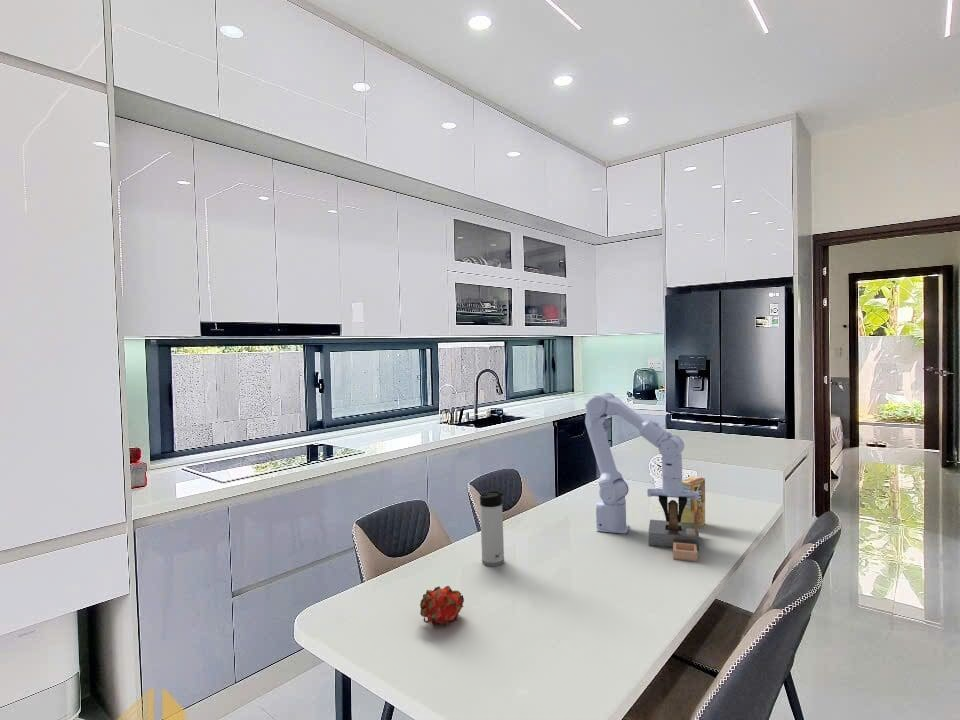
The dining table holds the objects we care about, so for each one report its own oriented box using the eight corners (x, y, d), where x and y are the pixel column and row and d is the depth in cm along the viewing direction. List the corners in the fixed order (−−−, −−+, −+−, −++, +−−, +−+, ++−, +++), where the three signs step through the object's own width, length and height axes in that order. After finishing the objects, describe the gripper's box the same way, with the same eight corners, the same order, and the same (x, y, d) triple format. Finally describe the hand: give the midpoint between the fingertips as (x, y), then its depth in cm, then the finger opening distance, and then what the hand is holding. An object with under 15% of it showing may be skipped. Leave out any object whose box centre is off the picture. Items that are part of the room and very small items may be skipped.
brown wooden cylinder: (668, 533, 161) (667, 500, 161) (669, 530, 163) (668, 498, 163) (677, 534, 160) (677, 501, 159) (679, 531, 162) (678, 499, 162)
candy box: (694, 521, 178) (693, 475, 178) (706, 524, 175) (705, 478, 175) (680, 527, 173) (678, 480, 172) (692, 531, 169) (691, 483, 169)
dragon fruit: (415, 637, 117) (459, 625, 124) (435, 625, 112) (479, 614, 119) (406, 597, 121) (449, 588, 129) (425, 584, 116) (468, 576, 124)
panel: (648, 545, 159) (648, 531, 158) (650, 531, 170) (650, 518, 170) (699, 550, 154) (699, 536, 154) (697, 535, 165) (697, 522, 165)
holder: (673, 559, 149) (673, 550, 149) (673, 550, 154) (673, 542, 154) (697, 561, 147) (697, 552, 146) (696, 552, 152) (696, 544, 152)
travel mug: (503, 567, 147) (500, 495, 147) (480, 566, 149) (477, 495, 148) (506, 558, 154) (504, 489, 153) (484, 557, 155) (481, 488, 154)
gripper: (646, 478, 160) (647, 523, 160) (698, 481, 155) (699, 527, 155) (647, 472, 167) (648, 515, 167) (697, 475, 162) (698, 519, 162)
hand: (673, 521), depth 162 cm, fingers closed on brown wooden cylinder, 3 cm apart
